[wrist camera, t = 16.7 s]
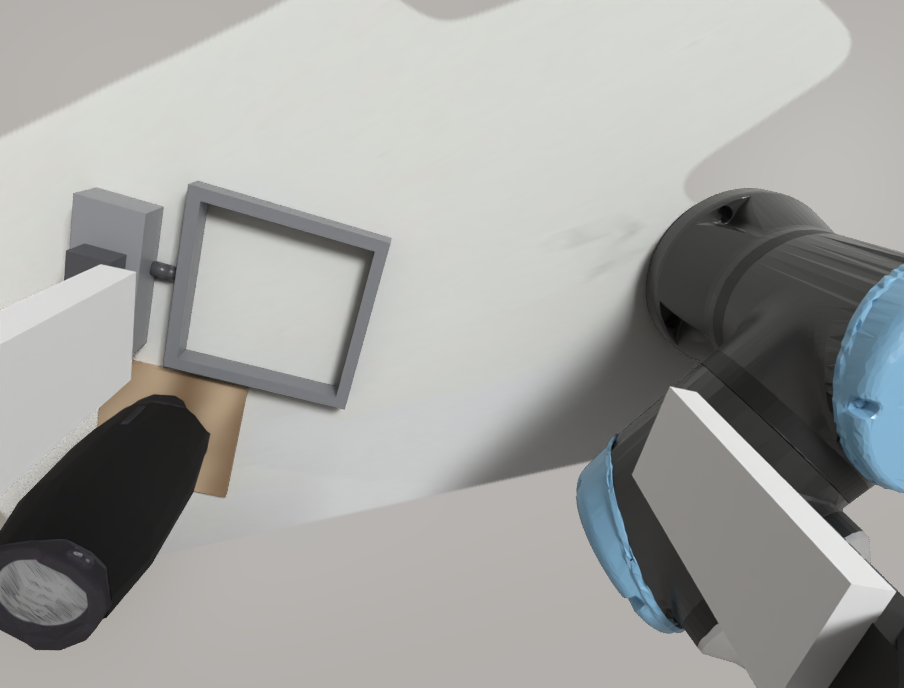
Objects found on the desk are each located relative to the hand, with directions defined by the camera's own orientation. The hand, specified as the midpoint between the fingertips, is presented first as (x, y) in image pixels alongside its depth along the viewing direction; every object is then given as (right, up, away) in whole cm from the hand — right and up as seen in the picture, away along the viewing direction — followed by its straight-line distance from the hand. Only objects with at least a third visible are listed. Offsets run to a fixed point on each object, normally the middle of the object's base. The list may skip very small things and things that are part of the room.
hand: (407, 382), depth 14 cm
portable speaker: (-25, -7, +38) cm, 46 cm away
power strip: (-26, +7, +32) cm, 42 cm away
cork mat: (-25, -7, +38) cm, 46 cm away
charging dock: (-15, +5, +34) cm, 37 cm away
